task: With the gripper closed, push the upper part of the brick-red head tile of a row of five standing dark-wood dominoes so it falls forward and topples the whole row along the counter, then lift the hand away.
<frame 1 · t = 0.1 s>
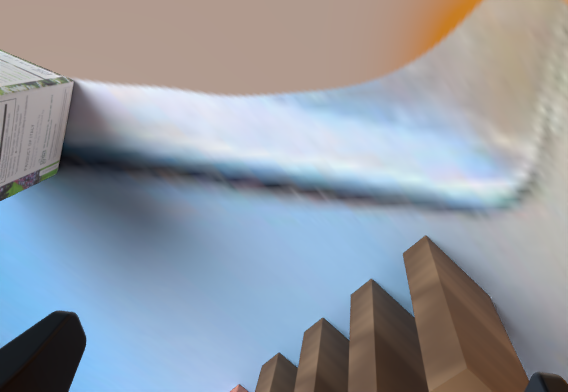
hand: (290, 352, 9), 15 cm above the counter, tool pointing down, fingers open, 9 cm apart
syrup box: (23, 106, 25), on the counter
domino 2: (299, 383, 29), on the counter
domino 4: (391, 314, 26), on the counter
domino 5: (445, 274, 25), on the counter
domino 3: (343, 351, 28), on the counter
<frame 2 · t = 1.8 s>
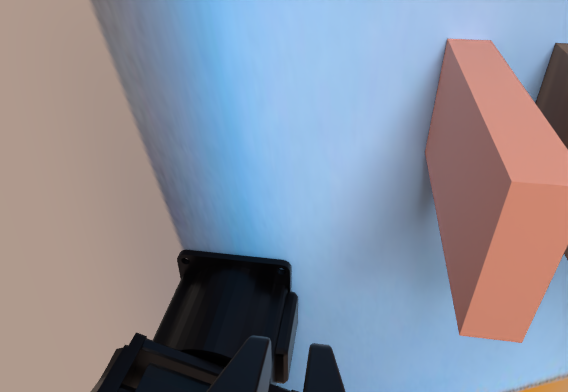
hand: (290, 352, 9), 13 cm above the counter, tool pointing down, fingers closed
domino 2: (555, 106, 18), on the counter
domino 1: (455, 100, 19), on the counter
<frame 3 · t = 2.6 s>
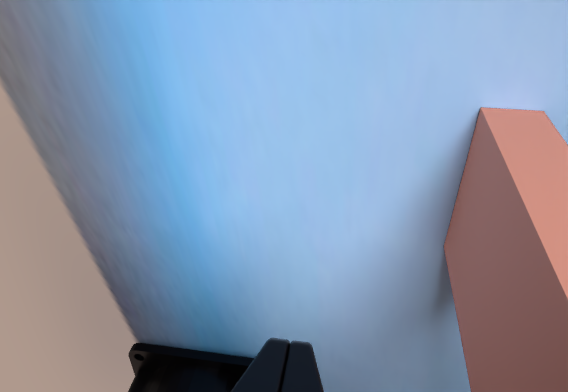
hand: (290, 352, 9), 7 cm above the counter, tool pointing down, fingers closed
domino 1: (488, 186, 14), on the counter
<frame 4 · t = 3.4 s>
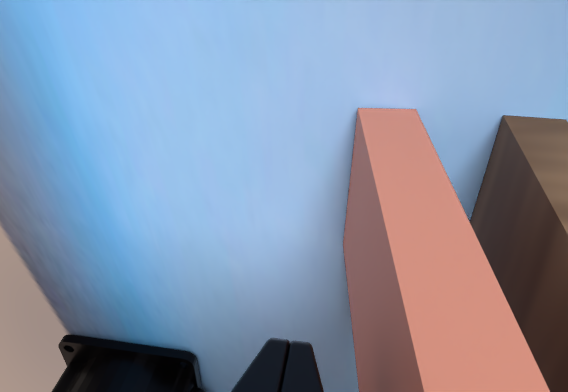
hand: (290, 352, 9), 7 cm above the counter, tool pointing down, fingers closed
domino 2: (507, 193, 14), on the counter
domino 1: (375, 183, 14), on the counter, tilted 7°, touching gripper
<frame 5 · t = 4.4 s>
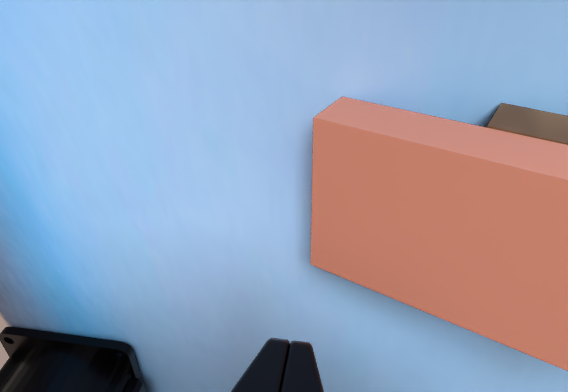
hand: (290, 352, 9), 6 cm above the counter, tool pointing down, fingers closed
domino 2: (472, 195, 13), point 1 cm above the counter, tilted 66°, touching domino 1, domino 3
domino 1: (325, 185, 14), point 1 cm above the counter, tilted 66°, touching domino 2
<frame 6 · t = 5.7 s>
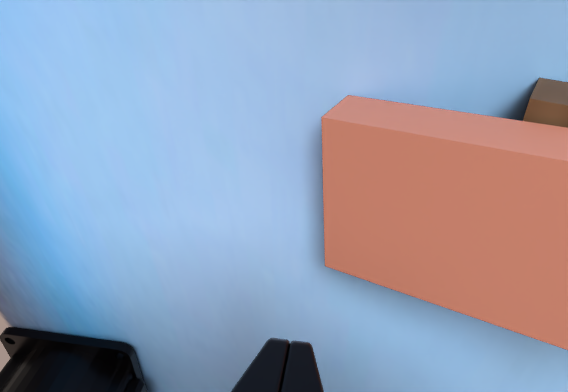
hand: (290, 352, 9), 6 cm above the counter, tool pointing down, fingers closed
domino 2: (506, 176, 12), point 1 cm above the counter, tilted 67°, touching domino 3
domino 1: (335, 185, 13), point 1 cm above the counter, tilted 68°
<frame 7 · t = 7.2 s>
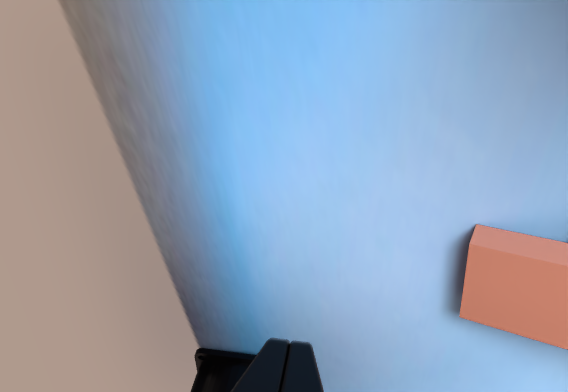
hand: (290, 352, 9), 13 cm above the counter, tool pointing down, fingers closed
domino 1: (467, 272, 23), point 1 cm above the counter, tilted 69°, touching domino 2
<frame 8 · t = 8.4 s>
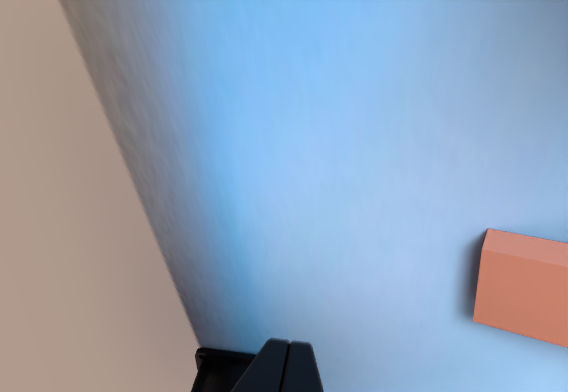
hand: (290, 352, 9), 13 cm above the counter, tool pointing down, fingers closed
domino 1: (480, 276, 23), point 1 cm above the counter, tilted 70°, touching domino 2
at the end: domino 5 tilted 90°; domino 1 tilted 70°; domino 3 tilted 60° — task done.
